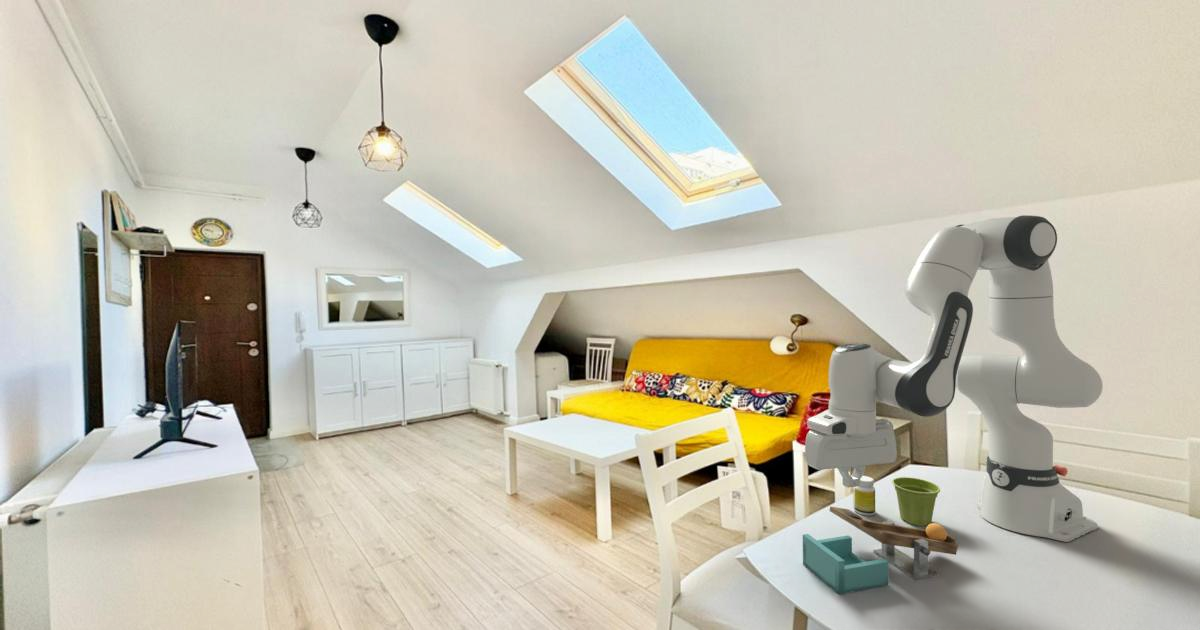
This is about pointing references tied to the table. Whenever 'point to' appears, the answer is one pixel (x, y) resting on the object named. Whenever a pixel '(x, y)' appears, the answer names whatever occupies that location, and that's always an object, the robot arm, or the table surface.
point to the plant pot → (916, 499)
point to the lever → (895, 533)
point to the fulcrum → (908, 558)
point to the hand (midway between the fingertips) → (851, 486)
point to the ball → (936, 532)
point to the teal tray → (843, 565)
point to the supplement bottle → (864, 497)
